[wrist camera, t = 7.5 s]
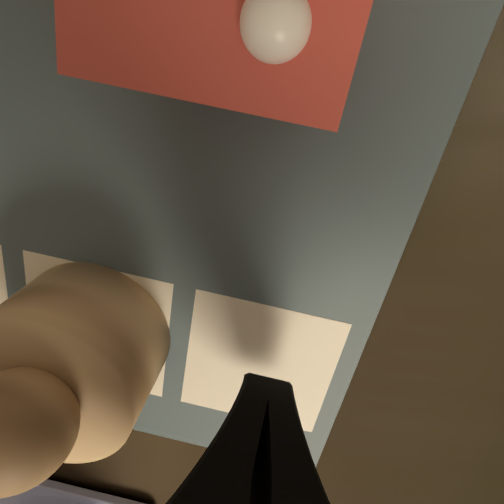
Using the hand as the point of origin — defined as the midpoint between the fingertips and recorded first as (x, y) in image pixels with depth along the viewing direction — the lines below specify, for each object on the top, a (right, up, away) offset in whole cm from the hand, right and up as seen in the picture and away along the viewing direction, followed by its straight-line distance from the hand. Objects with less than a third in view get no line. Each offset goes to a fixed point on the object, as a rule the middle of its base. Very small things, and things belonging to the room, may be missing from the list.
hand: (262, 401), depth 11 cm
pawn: (-5, +2, +1) cm, 6 cm away
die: (0, +10, -3) cm, 10 cm away
